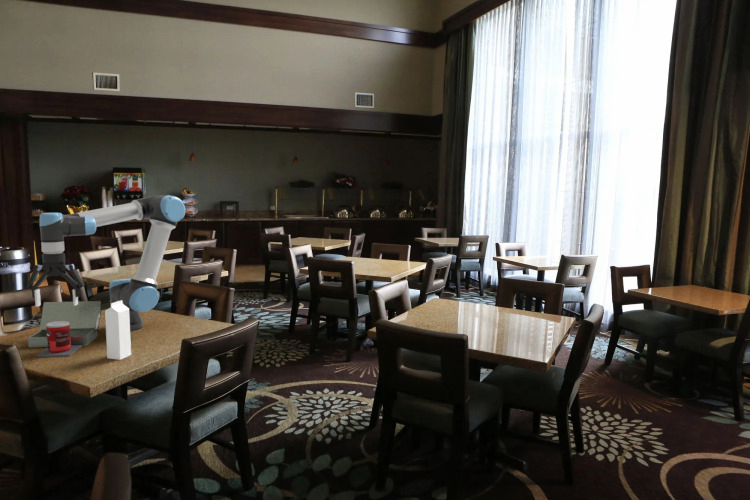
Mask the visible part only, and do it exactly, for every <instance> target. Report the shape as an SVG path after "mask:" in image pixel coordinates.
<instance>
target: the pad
mask: <svg viewBox="0 0 750 500" xmlns="http://www.w3.org/2000/svg"><path fill="white" fill-rule="evenodd" d="M82 347H83V346H82V345H71V348H70V350H68V351H66V352H61V353H50V352H49V351H48V347H45V349H44V350H42V351H41V352H40V353H38V354H37V355H35V358H49V357H50V358H53V357H54V358H55V357H71V356H72V355H73V354H74V353H75V352H76V351H79V349H81V348H82Z"/></svg>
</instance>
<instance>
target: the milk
mask: <svg viewBox="0 0 750 500" xmlns="http://www.w3.org/2000/svg"><path fill="white" fill-rule="evenodd" d="M104 313H105V314H104V315H105V316H104V317H105V336H106V356H107V357H106V358H107V359H111V360H118V361H121V360H123V359H125V358H128V357H131V356H132V344H131V342H132V341H131V331H130V318H129V308H128V307H126V306H125V305H124V304H123V301H122V300H121V301H117V302H114V303H111V307H108V309H106V310H105V311H104Z"/></svg>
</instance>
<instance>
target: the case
mask: <svg viewBox="0 0 750 500" xmlns="http://www.w3.org/2000/svg"><path fill="white" fill-rule="evenodd" d="M101 314H102V301H101V300H93V301H92V300H90V301H89V300H88V301H85V300H84V301H82V300H81V301H80V300H78V305H76V306H74V305H73V301H50V302H49V301H43V306H42V313H41V320H40V325H39V331H37V332H36V333H34V334H32V335H30V336H29V337H27V347H28V348H29V349H30V348H48V343H47V330H46V325H47V324H48V323H51V322H56V321H68V322H69V324H70V340H71V345H82V347H84V346H88V345H89V344H91V343H92V342H93V341H94V340H95V339H97V338H98V332H99V328H100V319H101Z"/></svg>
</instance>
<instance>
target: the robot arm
mask: <svg viewBox="0 0 750 500" xmlns="http://www.w3.org/2000/svg"><path fill="white" fill-rule="evenodd" d="M185 215H186V205H185V204H184V202H183V201H182V199H181V198H179V197H177V196H175V195H169V194H168V195H159V194H158V195H157V194H156V195H151V196H147V197H142V198H138V199H133V200H132V201H131V202H128V203H124V204H118V205H113V206H108V207H102V208H96V209H91V210H86V211H85V210H84V211H79V212H76V213H75V212H74V213H70V214H62V212H42V213H40V214H39V230H40V241H41V243H40V245H41V252H42V254H41V259H42V264H39V263H37V264H35V265H34V266H33V271H32V273H31V276H30V277H29V279H28V281H27V284H26V286H25V288H26V289H28V290H31V295H32V296H31V298H32V299H34V302H35V304H34V305H35V307H36V308H38V307H40V306H41V305H42V303H41V300H42V299H41V288H39V287H40V286H41V284H42V283H43V282H45V280H46V279H47V277H59V276H60V277H61V278H63V279H64V280H65V281H66V282H68V284H70V286H71V287H72V288H73V289H72V302H73V305H74V306H76V305H78V302H79V297H81V288H84V287H85V286H86V284H85V282H84V281H83V278H81V275H80V274H79V272H78V271H77V270H76V264H74V263H71V264H66V253H65V252H64V251H65V237H73V236H75V237H76V236H89V235H94V234H95V233H96V231H97V227H103V226H107V225H112V224H113V225H114V224H117V223H122V222H127V221H132V220H137V221H142V220H149V223H151V226H150V230H149V233H148V236H147V239H146V243H145V246H144V248H143V252H142V255H141V258H140V261H139V264H138V266H137V270H136V273H135V275H134V276H132V277H131V278H122V279H114V280H111V281H110V282H109V287H108V290H109V303H110V304H109V305H110V307H109V308H111V303H114V302H117V301H121V300H122V301H123V304H124V305H125V306H126V307H128V308H129V318H130V332H131V331H135V330H139V329H142V328H143V327H144V321H143V318H142V315H141V313H140V312H145V313H146V312H148V311H151V310H152V309H154V308H155V306H156V305H157V304H158V303H159V300H160V299H159V298H160V294H159V293H158V290H157V289H158V287H159V284H158V282H157V278H158V275H159V270H160V268H161V264H162V262H163V258H164V254H165V251H166V248H167V246H168V245H167V244H168V241H169V239H170V235H171V232H172V230H174V229H176V227H177V225H178V222H180V221H182V220H183V219H184V217H185ZM41 270H42V271H44V272H43V274H42V275H41V276H40V277H39V279H38V280H37V278H38V275H39V273H40V271H41ZM66 270H68V271H69V273H70V274H71V275H72V277H73V278H72V277H71V276H70V275H69V273H68V272H67V271H66ZM36 280H37V281H36Z"/></svg>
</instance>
